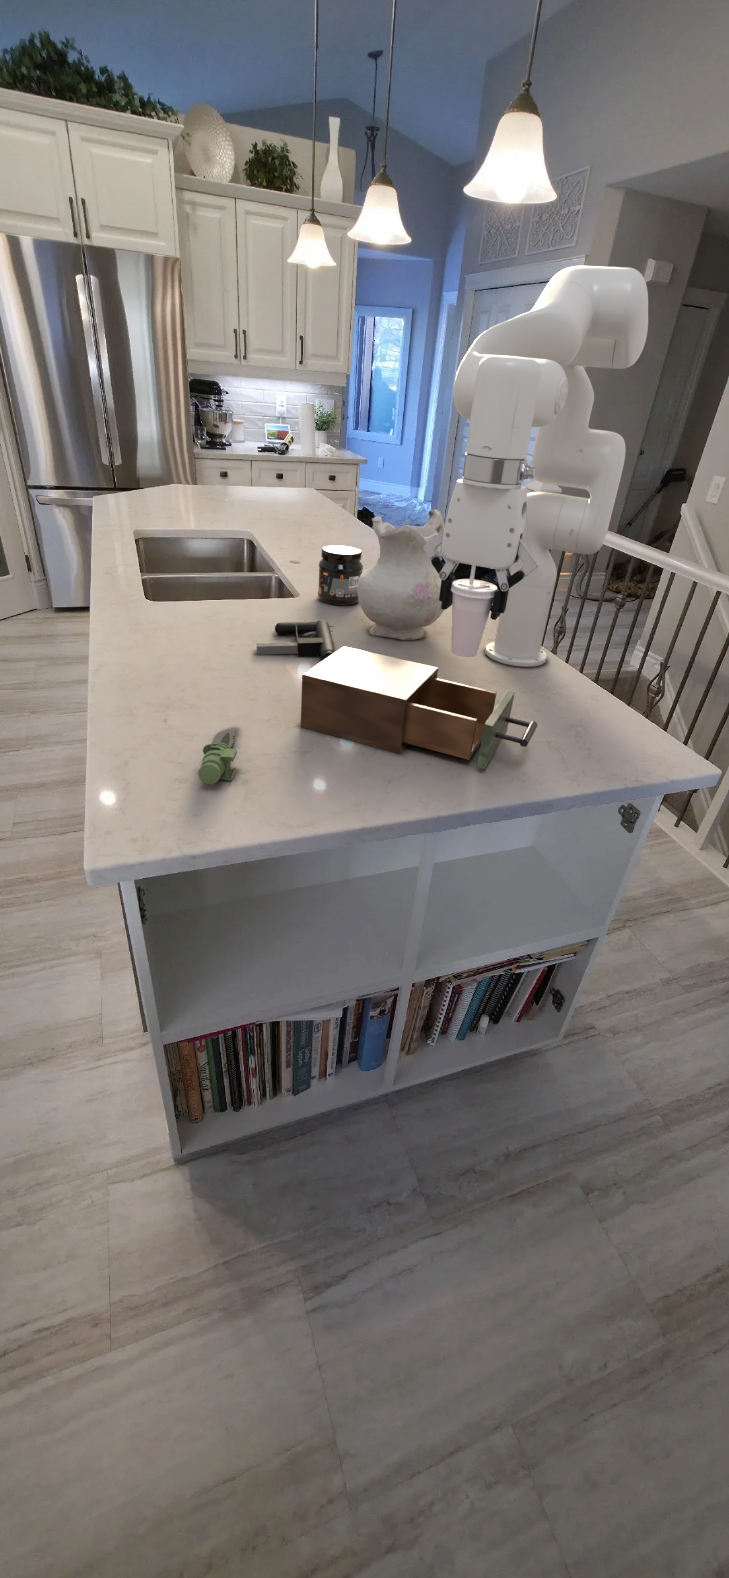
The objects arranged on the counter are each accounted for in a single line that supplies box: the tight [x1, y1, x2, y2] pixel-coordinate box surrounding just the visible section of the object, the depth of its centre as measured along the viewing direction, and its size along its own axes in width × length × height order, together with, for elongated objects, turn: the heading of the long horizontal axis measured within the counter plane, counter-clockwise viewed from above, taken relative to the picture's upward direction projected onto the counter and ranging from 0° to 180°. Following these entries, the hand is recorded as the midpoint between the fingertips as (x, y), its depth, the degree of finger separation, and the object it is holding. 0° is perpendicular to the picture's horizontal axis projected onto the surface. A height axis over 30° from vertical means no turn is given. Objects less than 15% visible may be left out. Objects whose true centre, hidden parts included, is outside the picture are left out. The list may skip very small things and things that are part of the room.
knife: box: [198, 728, 238, 785], centre depth 95 cm, size 4×18×5 cm
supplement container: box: [317, 544, 364, 606], centre depth 163 cm, size 10×10×12 cm
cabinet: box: [300, 645, 439, 755], centre depth 107 cm, size 17×15×9 cm
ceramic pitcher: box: [357, 508, 445, 641], centre depth 143 cm, size 22×20×25 cm
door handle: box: [256, 619, 336, 661], centre depth 135 cm, size 3×20×16 cm
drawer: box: [403, 677, 538, 770], centre depth 102 cm, size 20×14×7 cm, turn 66°
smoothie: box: [450, 565, 498, 658], centre depth 94 cm, size 6×6×14 cm
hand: (470, 611), depth 94 cm, fingers closed on smoothie, 6 cm apart
